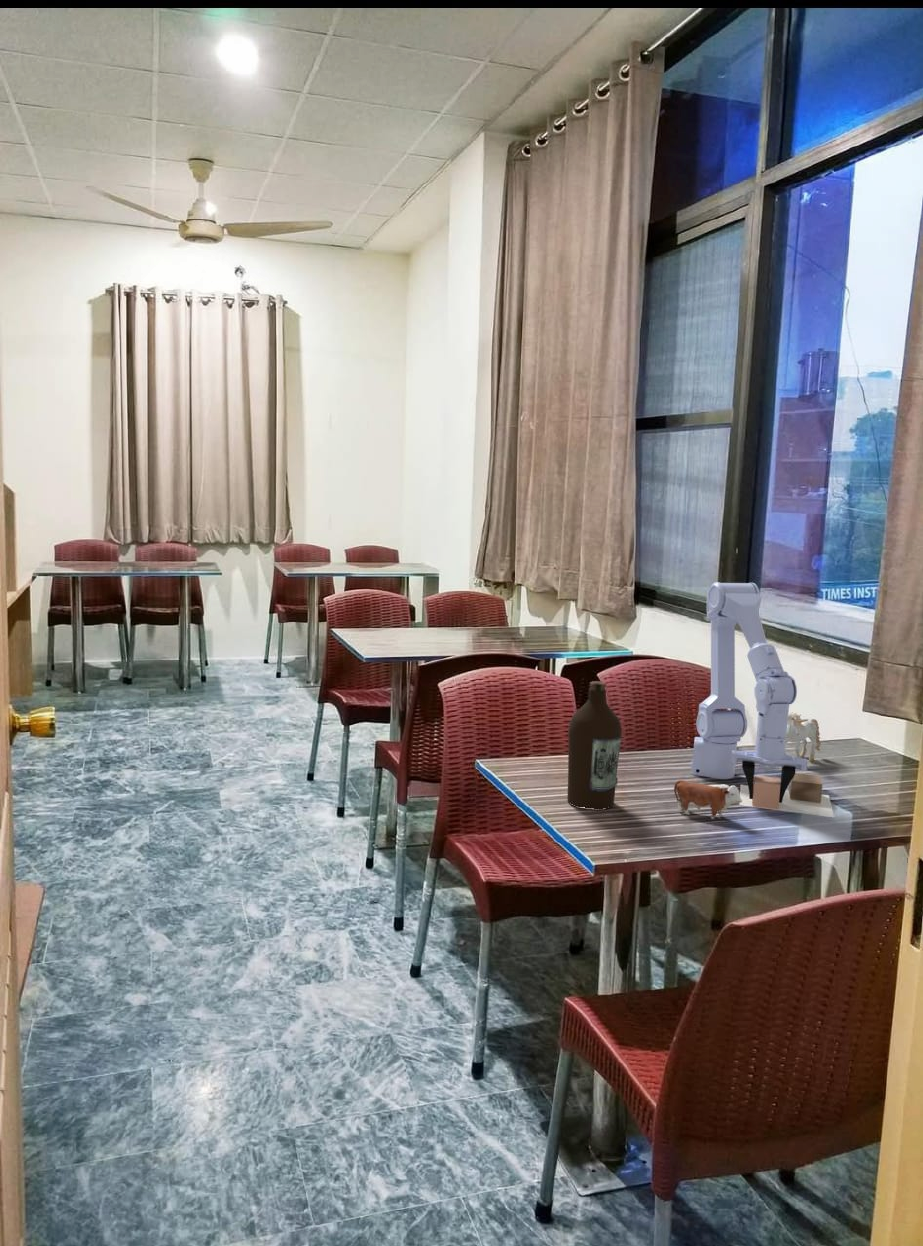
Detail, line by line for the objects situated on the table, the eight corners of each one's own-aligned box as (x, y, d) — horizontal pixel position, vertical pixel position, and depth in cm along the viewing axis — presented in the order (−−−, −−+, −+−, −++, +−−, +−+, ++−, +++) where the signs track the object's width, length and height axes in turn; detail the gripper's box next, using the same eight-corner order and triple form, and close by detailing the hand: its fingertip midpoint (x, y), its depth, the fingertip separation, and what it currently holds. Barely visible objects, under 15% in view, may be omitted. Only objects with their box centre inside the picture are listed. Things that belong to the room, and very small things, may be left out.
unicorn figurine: (771, 770, 222) (776, 714, 220) (790, 751, 239) (795, 699, 237) (803, 776, 218) (808, 719, 216) (820, 756, 235) (825, 703, 233)
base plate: (739, 809, 194) (739, 804, 194) (740, 788, 208) (740, 784, 207) (833, 822, 189) (834, 817, 189) (828, 800, 202) (828, 795, 202)
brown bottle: (553, 798, 197) (560, 679, 193) (594, 791, 202) (601, 675, 198) (586, 815, 188) (594, 690, 184) (627, 807, 193) (636, 686, 189)
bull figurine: (737, 831, 182) (741, 790, 181) (669, 816, 189) (672, 776, 188) (744, 824, 186) (747, 784, 185) (677, 810, 193) (680, 770, 192)
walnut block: (790, 799, 199) (791, 780, 198) (789, 790, 205) (790, 772, 204) (820, 803, 197) (822, 784, 197) (818, 794, 203) (820, 776, 202)
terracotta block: (752, 805, 194) (754, 782, 193) (752, 798, 199) (754, 774, 198) (778, 809, 193) (780, 785, 192) (777, 801, 197) (779, 778, 196)
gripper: (733, 735, 192) (728, 800, 194) (810, 744, 188) (804, 810, 190) (734, 727, 198) (729, 790, 200) (808, 735, 194) (802, 799, 196)
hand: (765, 799), depth 195 cm, fingers closed on terracotta block, 5 cm apart
